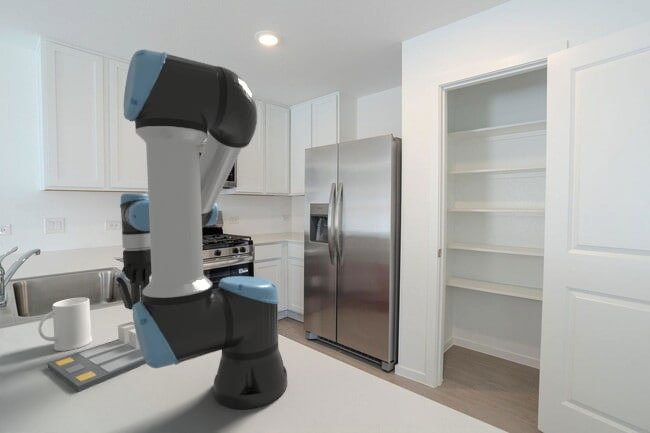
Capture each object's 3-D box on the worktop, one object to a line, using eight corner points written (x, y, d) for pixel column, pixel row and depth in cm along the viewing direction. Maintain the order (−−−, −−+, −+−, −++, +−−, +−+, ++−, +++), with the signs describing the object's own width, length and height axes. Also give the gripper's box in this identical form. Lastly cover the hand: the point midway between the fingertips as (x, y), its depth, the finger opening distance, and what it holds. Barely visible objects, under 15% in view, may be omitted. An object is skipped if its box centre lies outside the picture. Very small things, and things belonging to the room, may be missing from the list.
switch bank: (176, 350, 87) (176, 345, 87) (78, 391, 69) (78, 385, 69) (141, 335, 97) (141, 331, 97) (47, 367, 79) (47, 362, 79)
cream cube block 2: (149, 343, 88) (149, 328, 88) (136, 348, 85) (135, 333, 85) (142, 340, 90) (142, 326, 90) (129, 345, 87) (128, 330, 87)
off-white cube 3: (138, 338, 92) (137, 324, 91) (124, 343, 89) (124, 328, 88) (131, 335, 94) (131, 321, 93) (118, 340, 91) (117, 325, 90)
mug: (45, 359, 83) (42, 312, 82) (33, 351, 88) (30, 306, 87) (98, 342, 93) (95, 300, 92) (84, 335, 97) (82, 295, 97)
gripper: (154, 244, 100) (157, 320, 102) (106, 250, 90) (110, 335, 91) (167, 246, 96) (170, 325, 97) (119, 252, 85) (123, 342, 87)
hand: (141, 330), depth 94 cm, fingers closed
